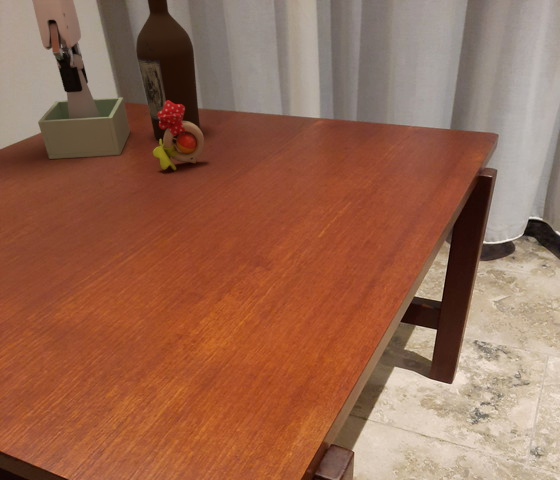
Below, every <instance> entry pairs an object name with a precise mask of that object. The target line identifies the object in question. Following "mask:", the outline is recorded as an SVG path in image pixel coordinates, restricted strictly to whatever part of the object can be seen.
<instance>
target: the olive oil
mask: <svg viewBox="0 0 560 480" xmlns="http://www.w3.org/2000/svg"><path fill="white" fill-rule="evenodd" d="M147 5H148V10H149V14H148V17H147V19H146V21H145V22H144V24H143V26H142V28H141V29H140V31H139V33H138V35H137V37H136V44H135V45H136V47H135V50H136V51H135V53H136V59H137V63H138V68H139V71H140V76H141V81H142V84H143V88H144V93H145V98H146V103H147V106H148V111H149V115H150V116H149V117H150V121H151V125H152V130H153V135H154V138H155V139H156V140H157V141H159V140H160V139H161V140H162V142H163V138H164V134H165V131H166V129H167V128H168V127H167V128H165V129H161V128H160V127H159V121H160V120H159V118H158V116H157V114H158V112H160V111H162V110H163V108H164V105H165V102H166V101H167V100H170V101H171V102H172V103H174V104H182V105H183V106H184V107H185V111H184V115H183V119H182V121H188V122H191V123H193V124H195V125H196V126H197V127H198V128H199V129H200V130H201V123H200V114H199V104H198V92H197V79H196V66H195V53H194V52H195V51H194V45H193V42H192V40H191V37H190V35H189V34H188V32H187V31H186V30H185V28H184V27H183V26H182V25H181V24H180V23H179V22H178V21H177V20H176V19H175V18H174V17H173V16H172V15H171V14H170V12H169V6H168V0H147ZM186 132H187V131H186ZM178 135H179V134H178ZM178 135H176V136H174V137H173V138H175V139H177V137H178ZM175 139H172V142H173V143H176V141H177V140H175Z"/></svg>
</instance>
